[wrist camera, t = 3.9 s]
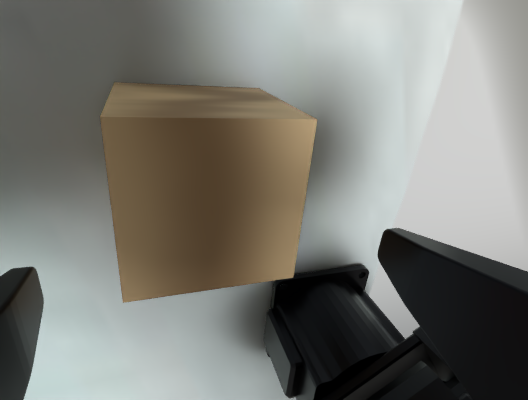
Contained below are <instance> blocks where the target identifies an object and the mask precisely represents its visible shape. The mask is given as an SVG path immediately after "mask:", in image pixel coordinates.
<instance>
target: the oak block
mask: <svg viewBox="0 0 528 400" xmlns="http://www.w3.org/2000/svg"><path fill="white" fill-rule="evenodd" d="M100 121H101V129H102V137H103V145H104V153H105V161H106V169H107V177H108V185H109V193H110V201H111V210H112V218H113V226H114V234H115V242H116V250H117V258H118V266H119V274H120V282H121V290H122V298H123V303H124V302H131V301H138V300H144V299H151V298H158V297H165V296H172V295H178V294H185V293H192V292H199V291H206V290H212V289H219V288H226V287H233V286H240V285H246V284H253V283H260V282H267V281H273V280H280V279H287V278H293V277H294V270H295V264H296V257H297V250H298V244H299V237H300V231H301V224H302V217H303V211H304V204H305V198H306V191H307V184H308V178H309V171H310V165H311V158H312V151H313V145H314V138H315V132H316V125H317V119H316V118H314V117H312V116H310V115H308V114H306V113H304V112H302V111H301V110H299V109H297V108H295V107H293V106H291V105H289V104H288V103H286V102H284V101H282V100H280V99H278V98H276V97H274V96H273V95H271V94H269V93H267V92H265V91H263V90H261V89H259V88H239V87H215V86H191V85H167V84H143V83H119V82H114V84H113V87H112V89H111V92H110V94H109V96H108V99H107V101H106V104H105V106H104V108H103V111H102V113H101V116H100Z"/></svg>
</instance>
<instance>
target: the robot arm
mask: <svg viewBox="0 0 528 400" xmlns="http://www.w3.org/2000/svg"><path fill="white" fill-rule="evenodd" d="M378 259H379V261H380V263H381V265H382V267H383V268H384V270H385V272H386V273H387V275H388V277H389V279H390V280H391V282H392V284H393V286H394V287H395V289H396V291H397V292H398V294H399V296H400V297H401V299H402V301H403V302H404V304H405V305H406V307H407V308H408V310H409V311H410V312H411V314H412V315H413V317H414V318H415V320H416V321H417V322H418V324H419V325H420V327H418V328H417V329H415V330H414V331H413V334H412V335H411V336H409V337H408V338H406V339H405V338H404V337H403V336H402V335H401V333H400V332H399V331H398V330H397V329H396V328H395V326H394V325H393V324H392V323H391V322H390V320H389V319H388V318H387V317H386V316H385V314H384V313H383V312H382V311H381V310H380V309H379V307H378V306H377V305H376V304H375V303H374V301H373V300H372V299H371V298H370V297H369V296H368V294H367V293H366V292H365V291H364V290H365V286H366V283H367V279H368V275H369V271H368V269H367V268H366V267H365V266H363V265H357V266H350V267H343V268H337V269H330V270H323V271H316V272H309V273H302V274H295V275H294V277H293V278H287V279H280V280H275V281H274V284H273V292H272V300H271V308H270V309H269V310H268V312H267V316H266V324H265V333H264V343H265V345H266V352H267V355H268V356H269V357H270V358H271V361H272V363H273V366H274V368H275V371H276V373H277V376H278V378H279V381H280V383H281V386H282V388H283V391H284V394H285V395H286V396H287V397H288V398H293V397H296V400H528V272H527V271H524V270H521V269H518V268H515V267H512V266H509V265H506V264H503V263H500V262H498V261H494V260H491V259H489V258H485V257H483V256H480V255H477V254H474V253H471V252H468V251H465V250H462V249H459V248H456V247H453V246H450V245H447V244H444V243H441V242H438V241H435V240H433V239H430V238H427V237H424V236H421V235H417V234H415V233H412V232H409V231H406V230H403V229H400V228H392V229H386V230H385V231H384V232H383V235H382V238H381V242H380V246H379V249H378ZM282 284H284V285H283V286H281V285H282ZM43 304H44V300H43V294H42V290H41V286H40V282H39V278H38V274H37V271H36V269H35V268H34V267H23V268H14V269H11V270H9V271H8V272H6V273H5V274H3V275H2V276H0V400H23V399H24V396H25V393H26V390H27V386H28V383H29V379H30V376H31V372H32V367H33V362H34V357H35V351H36V345H37V340H38V334H39V328H40V323H41V317H42V312H43Z"/></svg>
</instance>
